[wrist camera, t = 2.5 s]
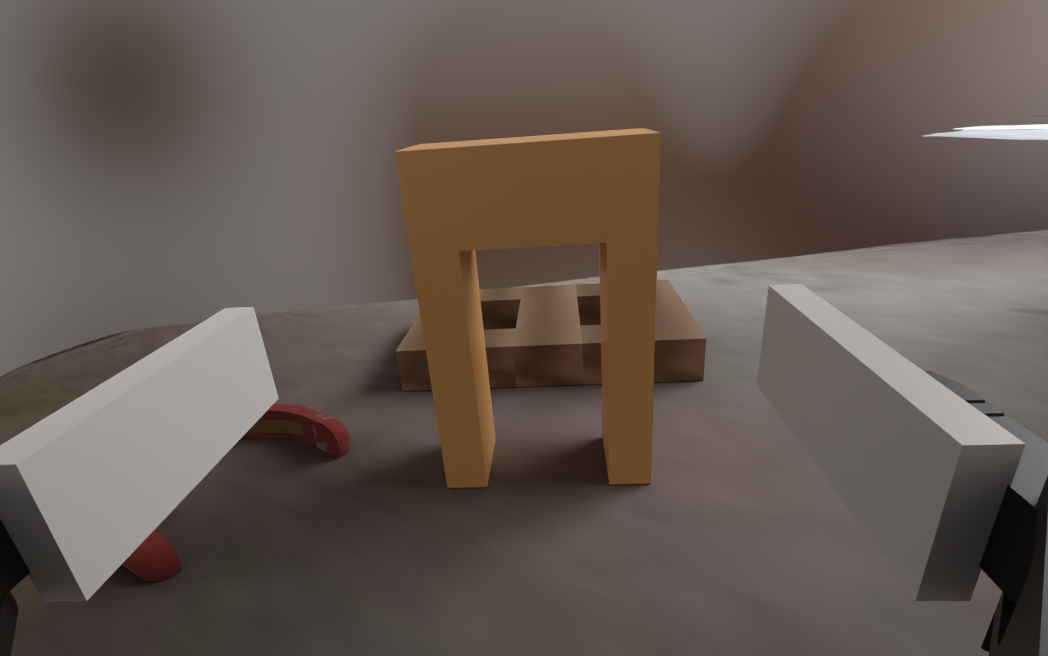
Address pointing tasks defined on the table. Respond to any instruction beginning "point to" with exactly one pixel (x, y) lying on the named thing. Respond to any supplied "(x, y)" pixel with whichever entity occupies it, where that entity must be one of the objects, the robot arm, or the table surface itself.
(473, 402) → the orange arch-shaped block
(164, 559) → the pliers
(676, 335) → the wooden slotted board
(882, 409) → the robot arm
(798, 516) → the table surface
